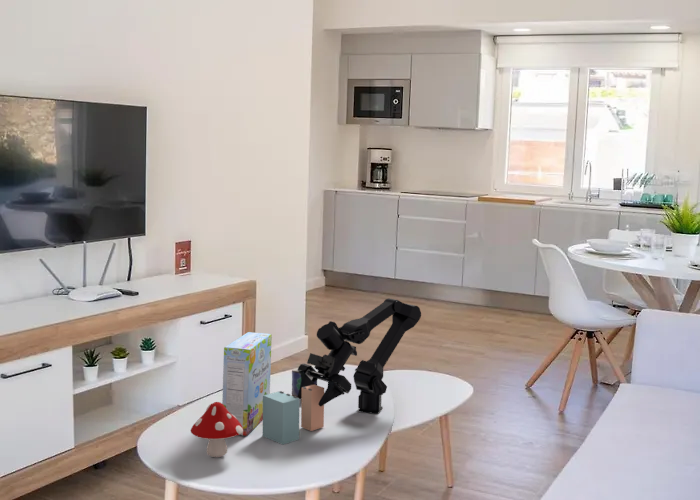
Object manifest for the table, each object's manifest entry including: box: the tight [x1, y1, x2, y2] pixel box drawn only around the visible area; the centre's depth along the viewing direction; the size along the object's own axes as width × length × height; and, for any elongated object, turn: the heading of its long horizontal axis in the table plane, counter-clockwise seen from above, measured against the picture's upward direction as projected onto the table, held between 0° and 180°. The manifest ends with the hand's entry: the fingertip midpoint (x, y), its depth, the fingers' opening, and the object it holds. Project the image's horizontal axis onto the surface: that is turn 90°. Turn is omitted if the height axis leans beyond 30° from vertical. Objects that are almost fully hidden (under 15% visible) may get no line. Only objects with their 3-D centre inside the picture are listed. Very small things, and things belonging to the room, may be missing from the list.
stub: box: [300, 384, 325, 432], centre depth 241 cm, size 5×4×12 cm
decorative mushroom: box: [190, 401, 243, 458], centre depth 218 cm, size 14×14×15 cm
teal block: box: [262, 390, 301, 446], centre depth 232 cm, size 6×9×12 cm, turn 45°
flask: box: [291, 368, 318, 398], centre depth 270 cm, size 9×3×11 cm, turn 65°
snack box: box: [221, 331, 273, 437], centre depth 243 cm, size 22×9×26 cm, turn 168°
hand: (308, 401), depth 240 cm, fingers open, 9 cm apart
